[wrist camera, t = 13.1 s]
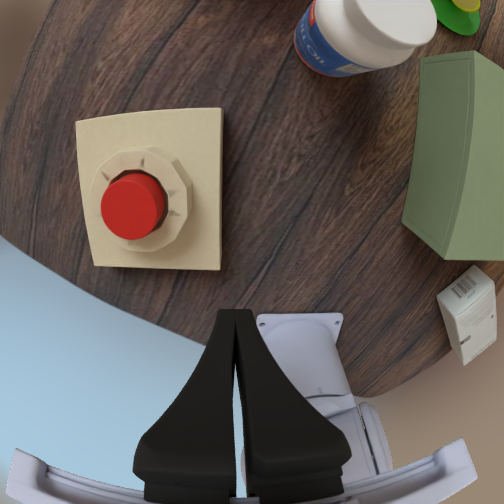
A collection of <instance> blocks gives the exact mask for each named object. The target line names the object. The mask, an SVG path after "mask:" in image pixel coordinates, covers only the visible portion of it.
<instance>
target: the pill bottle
mask: <svg viewBox="0 0 504 504" xmlns="http://www.w3.org/2000/svg"><path fill="white" fill-rule="evenodd" d="M436 28H437V17H436V13H435V9H434V7H433V5H432V3H431V1H430V0H314V1H313V2H312V3H311V5H310V6H309V8H308V9H307V11H306V12H305V13H304V15H303V16H302V17H301V19H300V20H299V22H298V23H297V25H296V28H295V31H294V45H295V49H296V51H297V53H298V55H299V57H300V58H301V59H302V61H303V62H304V63H305V64H306V65H307V66H308V67H310V68H311V69H313V70H314V71H316V72H318V73H320V74H323V75H326V76H330V77H347V76H351V75H355V74H359V73H363V72H368V71H373V70H377V69H382V68H387V67H391V66H395V65H398V64H400V63H402V62H404V61H405V60H406V59H408V58H409V57H410V56H411V54H412V53H413V51H414V49H415V47H418V46H421V45H424V44H426V43H428V42H429V41H430V40H431V39H432V38H433V36H434V35H435V32H436Z"/></svg>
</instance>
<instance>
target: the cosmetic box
mask: <svg viewBox="0 0 504 504" xmlns="http://www.w3.org/2000/svg"><path fill="white" fill-rule="evenodd" d="M436 297H437V301H438V303H439V306H440V309H441V313H442V316H443V319H444V323H445V326H446V330H447V333H448V337H449V341H450V345H451V348H452V349H453V350H454V352H455V353H456V355H457V356H458V358H459V359H460V361H461V363H462V364H463V366H465V365H466V364H467V363H468V362H470V361H471V360H472V359H474V358H475V357H476V356H477V355H479V354H480V353H481V352H482V351H483V350H485V349H486V348H487V347H488V346H489V345H490V344H492V343H493V342H494V341H495V340H496V335H497V334H496V330H497V329H496V326H497V325H496V298H495V285H494V282H493V281H492V280H491V279H490V278H489V277H488V276H487V275H486V274H485V273H483V272H482V271H481V270H480V269H479V268H478V267H476V266H475V265H472V266H471V267H470V268H469V269H468V270H466V271H465V272H464V273H463V274H462V275H461V276H460V277H459V278H457V279H456V280H455V281H454V282H453V283H452V284H450V285H449V286H448V287H447V288H445V289H444V290H443V291H442V292H440V293H439V294H438V295H437V296H436Z"/></svg>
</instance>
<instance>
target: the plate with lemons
mask: <svg viewBox="0 0 504 504" xmlns="http://www.w3.org/2000/svg"><path fill="white" fill-rule="evenodd" d="M430 1H431V3H432V5H433V7H434V9H435V13H436V17H437V19H438V20H439V21H440V22H441V23H443V24H444V25H445V26H446V27H448V28H449V29H451V30H453V31H454V32H456V33H459V34H462V35H473V34H474V33H476V32H477V30H478V29H479V25H480V15H479V8H480V0H430Z"/></svg>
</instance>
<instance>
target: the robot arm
mask: <svg viewBox="0 0 504 504" xmlns="http://www.w3.org/2000/svg"><path fill="white" fill-rule="evenodd" d="M336 321H338V322H336ZM335 322H336V323H335ZM342 322H343V315H342V314H341V313H311V314H260V315H258V316H257V322H255V319H254V316H253V313H252V311H251V310H250V309H220V310H218V311H217V317H216V321H215V325H214V328H213V331H212V333H211V336H210V338H209V341H208V343H207V346H206V348H205V351H204V352H203V354H202V356H201V358H200V361H199V363H198V364H197V366H196V368H195V370H194V372H193V373H192V375H191V377H190V378H189V380H188V381H187V383H186V385H185V386H184V387H183V389H182V390H181V392H180V393H179V395H178V396H177V398H176V399H175V400H174V402H173V403H172V404H171V405H170V406H169V408H168V409H167V410H166V411H165V412H164V414H163V415H162V416H161V417H160V418H159V419H158V420H157V421H156V423H155V424H154V425H153V426H152V427H151V428H150V429H149V430H148V431H147V432H146V433H145V434H144V435H143V436H142V437H141V439H140V441H139V443H138V446H137V449H136V452H135V456H134V462H133V473H134V474H135V475H136V476H137V477H138V478H140V479H141V480H143V481H144V482H145V488H144V491H139V490H134V489H128V488H124V487H119V486H114V485H110V484H106V483H102V482H99V481H95V480H91V479H88V478H84V477H81V476H78V475H75V474H72V473H69V472H66V471H63V470H60V469H58V468H55V467H52V466H49V465H47V464H46V463H45V462H44V461H42V460H40V459H39V458H37V457H35V456H33V455H30V454H28V453H26V452H23V451H21V450H19V449H17V448H16V449H15V452H14V455H13V459H12V463H11V467H10V472H9V477H8V482H7V487H6V494H7V495H9V496H11V497H12V498H14V499H16V500H17V501H19V502H21V503H23V504H438V503H440V502H441V501H443V500H445V499H446V498H448V497H450V496H451V495H453V494H455V493H456V492H458V491H459V490H461V489H462V488H464V487H466V486H467V485H469V484H470V483H472V482H473V481H475V480H476V479H477V474H476V471H475V468H474V465H473V463H472V461H471V457H470V455H469V452H468V450H467V447H466V445H465V442H464V440H463V438H462V437H461V438H459V439H457V440H455V441H453V442H451V443H449V444H447V445H445V446H443V447H441V448H440V449H438V450H437V451H435V452H434V453H433V454H432V455H430V456H427V457H425V458H423V459H420V460H418V461H415V462H413V463H410V464H408V465H405V466H402V467H400V468H397V469H394V470H392V467H393V462H392V458H391V453H390V449H389V446H388V442H387V439H386V436H385V433H384V429H383V427H382V424H381V421H380V418H379V416H378V413H377V411H376V409H375V407H374V406H372V405H370V404H367V402H363V403H360V404H359V407H360V410H361V414H362V416H361V417H362V420H363V423H364V426H365V429H364V428H363V424H362V421H361V418H360V415H359V412H358V408H357V406H356V402H355V399H354V396H353V394H352V393H351V390H350V387H349V384H348V381H347V378H346V375H345V372H344V369H343V366H342V363H341V360H340V357H339V354H338V352H337V349H336V346H335V344H336V341H337V338H338V335H339V331H340V328H341V325H342ZM260 323H264V324H260ZM235 365H236V372H237V379H238V386H239V393H240V400H241V407H242V417H243V436H244V447H243V450H242V454H241V472H242V477H243V480H244V483H245V486H246V493H247V498H236V459H235V442H234V423H233V387H234V386H233V385H234V372H235V371H234V370H235ZM372 455H373V458H372Z"/></svg>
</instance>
